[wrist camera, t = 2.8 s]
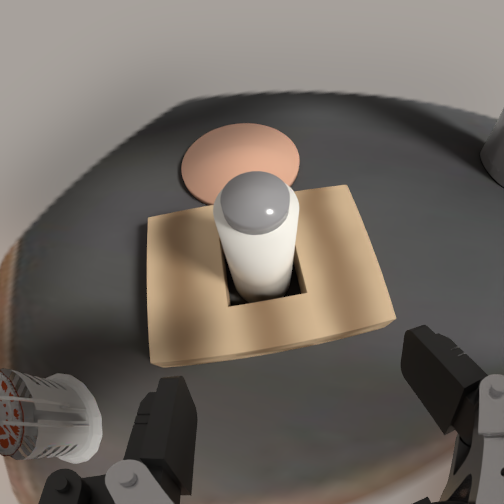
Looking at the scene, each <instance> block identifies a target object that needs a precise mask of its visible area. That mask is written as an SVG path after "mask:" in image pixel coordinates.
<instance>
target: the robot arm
mask: <svg viewBox="0 0 504 504" xmlns="http://www.w3.org/2000/svg"><path fill="white" fill-rule="evenodd" d="M480 157H481V161H482V163H483V165H484V167H485V168H486V170H487V171H488V173H489V174H490V175H491V176H492V177H493V179H495V180H496V181H497V182H498V183H499V184H500V185H501V186H503V187H504V109H503V111H502V113H501V115H500V117H499V119H498V121H497V123H496V125H495V126H494V128H493V130H492V132H491V134H490V136H489V137H488V139H487V141H486V143H485V145H484V146H483V148H482V150H481V152H480ZM401 371H402V374H403V376H404V378H405V380H406V381H407V382H408V384H409V385H410V386H411V388H412V389H413V391H414V392H415V393H416V395H417V396H418V398H419V399H420V400H421V402H422V403H423V405H424V406H425V407H426V409H427V410H428V412H429V413H430V415H431V416H432V417H433V419H434V420H435V422H436V423H437V425H438V426H439V428H440V429H441V430H442V432H443V433H444V435H446V434H448V433H450V432H452V431H454V430H456V431H457V433H458V435H457V437H456V441H455V447H454V454H453V459H452V464H451V470H450V474H449V479H448V482H447V485H446V487H445V489H444V491H443V493H442V495H441V498H440V501H439V502H434V503H431V502H430V500H429V498H428V497H426V498H424V499H422V500H420V501H418V502H415V503H413V504H504V376H503V375H498V374H493V375H489V376H488V375H487V374H486V373H485V372H484V371H483V370H482V369H481V368H480V367H479V366H478V365H477V364H476V363H475V362H474V361H473V360H472V359H471V358H470V357H469V356H468V355H467V354H464V352H463V351H462V350H461V349H460V348H458V346H457V345H456V344H455V343H454V342H453V341H452V340H451V339H449V338H447V337H445V336H443V335H441V334H435V333H434V332H433V331H432V330H431V329H430V328H429V327H428V326H426V325H422V326H419V327H416V328H413V329H410V330H407V331H406V332H405V335H404V343H403V351H402V358H401ZM134 423H135V425H133V429H132V432H131V435H130V439H129V442H128V445H127V449H126V452H125V456H124V459H123V460H122V461H119V462H117V463H115V464H114V465H113V466H111V467H110V468H109V470H108V471H107V473H106V474H105V475H101V476H94V477H87V478H81V477H80V476H79V475H78V474H77V473H76V472H74V471H72V470H70V469H60V470H57V471H55V472H53V473H52V474H51V475H50V476H49V477H48V479H47V480H46V483H45V486H44V489H43V492H42V495H41V498H40V501H39V504H180V495H191V492H192V478H193V465H194V453H195V441H196V430H197V412H196V407H195V404H194V402H193V400H192V397H191V395H190V392H189V390H188V387H187V385H186V382H185V380H184V378H183V377H182V376H175V377H163V378H161V379H160V381H159V384H158V388H157V391H156V392H149V393H148V394H147V395H146V397H145V398H144V399H143V400H142V401H141V403H140V406H139V409H138V412H137V416H136V419H135V422H134Z"/></svg>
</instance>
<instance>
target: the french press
mask: <svg viewBox="0 0 504 504" xmlns="http://www.w3.org/2000/svg"><path fill="white" fill-rule="evenodd" d="M12 371H13V372H15V373H16V375H15V377H14V379H13V381H12V382H11V380H10V379H9V377H10V375H11V372H12ZM23 374H25V373H20V372H18V371H14V370H10V369H4V368H2V369H1V370H0V454H1V455H3V456H11V457H12V458H14V459H16V460H25V459H37V458H35V457H36V456H38V458H48V457H49V458H50V457H52V456H53V457H58V458H59V459H61V460H64V461H67V462H70V463H74V464H75V463H80V462H85V461H88V460H89V459H90V458H91V457H92V456H93V455H94V454H95V453H96V452H97V451H98V448H99V445H100V442H101V439H102V436H103V435H102V417H101V414H100V411H99V409H98V406H97V403H96V400H95V398H94V396H93V395H92V394H91V392H90V391H89V390H88V388H87V387H86V386H85V384H84V383H82V382H81V381H79V380H78V379H76V378H75V377H73V376H72V375H68V374H60V373H57V374H54V375H52V376H50V377H47V378H46V379H45V378H39V377H37V376H31V375H29V374H26V376H25V375H23ZM20 377H21V378H22V380H23V381H22V383H21V385H20V387H19V389H18V391H16V389H15V386H16V384H17V382H18V380H19V378H20ZM30 377H31V378H32V379H33V380H31V379H30ZM34 377H35V378H34ZM38 379H40V380H42V381H41V382H40V381H39V380H38ZM36 382H38V383H39V385H38V384H36ZM25 385H26V386H27V388H28V389H27V391H26V393H25V396H24V398H22V397H20V396H21V393H22V391H23V389H24V387H25ZM30 393H31V395H32V398H28V397H29V395H30ZM26 436H29V437H30V438H31V439H32V441H33V442H34V443H35V445H36V446H35V448H34V447H33V445H32V444H31V443H30V442H29V440H28V439H27V438H26ZM34 436H37V440H36V439H35V438H34ZM22 440H24V441H25V442H26V444H27V445H28V446H29V447H30V449H31V450H32V451H33V452H32V453H30V452H29V451H28V450H27V449H26V447H25V446H24V445H23V444H22ZM20 447H21V449H22V450H23V451H24V453H25V454H26V455H27V457H26V458H25V457H24V456H23V455H22V454H21V453H20V452H19V451H18V449H19V448H20ZM45 449H48V451H47V452H46V451H45ZM41 453H44V454H43V455H41ZM49 453H52V454H51V455H49ZM54 455H55V456H54ZM44 456H47V457H44Z"/></svg>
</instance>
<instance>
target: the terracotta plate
mask: <svg viewBox="0 0 504 504" xmlns="http://www.w3.org/2000/svg"><path fill="white" fill-rule="evenodd" d="M181 171H182V177H183V180H184V183H185V185H186V187H187V189H188V190H189V192H190V193H191V194H192V195H193V196H194V197H195V198H196V199H198V200H199V201H201V202H202V203H204V204H207V205H209V206H210V205H214V202H215V200H216V197H217V196H218V194H219V193H220V191H221V190H222V189H223V188H224V187H225V185H226V184H227V183H228V182H229V181H230V180H231V179H233V178H234V177H236V176H238V175H240V174H242V173H246V172H251V171H262V172H267V173H271V174H273V175H275V176H277V177H278V178H280V179H281V180H282V181H283V182H284V183H286V184H287V185H288V186H289V187H291V186H292V184H293V183H294V182H295V179H296V177H297V175H298V171H299V154H298V151H297V149H296V147H295V145H294V144H293V142H292V141H291V140H290V139H289V138H288V137H287V136H286V135H284V134H283V133H281V132H280V131H278V130H276V129H274V128H271V127H268V126H264V125H260V124H252V123H239V124H232V125H227V126H223V127H220V128H217V129H215V130H212V131H210V132H208V133H206V134H205V135H203V136H202V137H200V138H199V139H198V140H196V141H195V142H194V143H193V144H192V145H191V147H190V148H189V149H188V151H187V152H186V154H185V156H184V158H183V161H182V168H181Z"/></svg>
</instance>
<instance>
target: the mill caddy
mask: <svg viewBox="0 0 504 504" xmlns="http://www.w3.org/2000/svg"><path fill="white" fill-rule="evenodd" d="M294 193H295V194H296V196H297V199H298V202H299V216H298V225H297V233H296V242H295V250H294V258H293V261H294V265H295V269H296V274H297V278H298V282H299V286H300V290H301V294H299V295H293V296H288V297H283V298H277V299H272V300H266V301H260V302H255V303H249V304H243V305H237V306H231V302H230V295H229V288H228V280H227V273H226V266H225V258H224V254H225V253H224V249H223V246H222V243H221V240H220V236H219V233H218V230H217V227H216V223H215V220H214V215H213V207H214V205H210V206H204V207H199V208H194V209H189V210H183V211H178V212H173V213H168V214H164V215H159V216H154V217H149V218H148V233H147V310H148V333H149V350H150V363H151V364H154V365H157V366H160V367H163V368H165V367H176V366H186V365H195V364H204V363H212V362H220V361H227V360H234V359H241V358H247V357H253V356H259V355H265V354H271V353H276V352H282V351H287V350H292V349H297V348H302V347H307V346H312V345H316V344H321V343H325V342H330V341H334V340H338V339H342V338H346V337H350V336H354V335H358V334H362V333H366V332H369V331H373V330H377V329H380V328H384V327H385V326H387V325H388V324H389V323H391V322H392V321H393V320H395V319H396V316H395V313H394V309H393V306H392V303H391V300H390V297H389V293H388V290H387V287H386V284H385V281H384V278H383V275H382V272H381V270H380V267H379V264H378V261H377V258H376V255H375V253H374V250H373V247H372V245H371V242H370V239H369V237H368V234H367V232H366V229H365V227H364V224H363V222H362V219H361V217H360V214H359V212H358V209H357V207H356V205H355V202H354V200H353V198H352V195H351V193H350V191H349V188H348V186H347V185H340V186H332V187H324V188H317V189H309V190H302V191H295V192H294Z"/></svg>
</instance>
